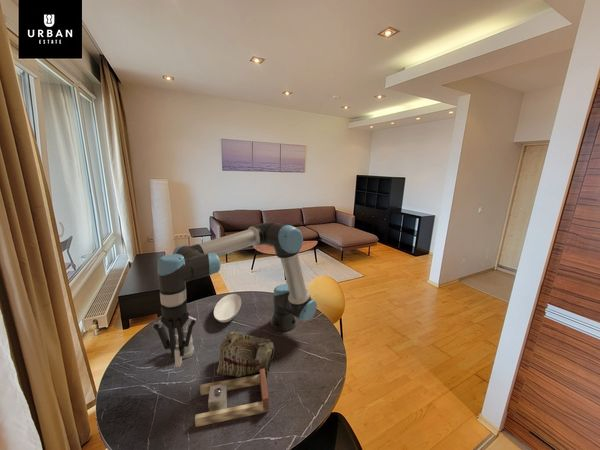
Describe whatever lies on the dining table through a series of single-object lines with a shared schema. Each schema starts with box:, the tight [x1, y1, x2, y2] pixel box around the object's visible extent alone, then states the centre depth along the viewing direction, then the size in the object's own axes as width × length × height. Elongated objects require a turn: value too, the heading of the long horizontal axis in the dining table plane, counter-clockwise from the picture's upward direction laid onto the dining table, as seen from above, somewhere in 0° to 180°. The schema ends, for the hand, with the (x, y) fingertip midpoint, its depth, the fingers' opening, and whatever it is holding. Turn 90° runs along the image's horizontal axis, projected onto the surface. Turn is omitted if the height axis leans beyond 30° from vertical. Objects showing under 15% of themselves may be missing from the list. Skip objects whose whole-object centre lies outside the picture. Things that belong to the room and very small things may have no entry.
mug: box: [168, 330, 195, 360], centre depth 116 cm, size 8×12×12 cm, turn 83°
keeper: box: [207, 383, 228, 412], centre depth 91 cm, size 6×7×6 cm
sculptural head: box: [216, 331, 275, 378], centre depth 108 cm, size 17×21×25 cm
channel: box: [194, 368, 270, 428], centre depth 93 cm, size 25×14×6 cm, turn 104°
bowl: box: [213, 293, 242, 323], centre depth 149 cm, size 30×15×6 cm, turn 3°
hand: (178, 363), depth 85 cm, fingers closed
